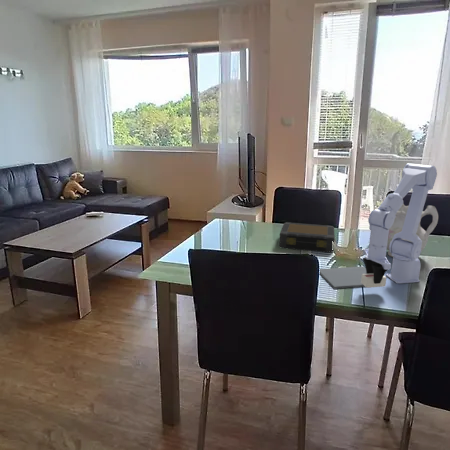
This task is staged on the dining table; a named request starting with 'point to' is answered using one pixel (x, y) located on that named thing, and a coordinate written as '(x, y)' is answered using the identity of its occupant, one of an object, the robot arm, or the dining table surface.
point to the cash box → (307, 237)
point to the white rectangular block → (372, 281)
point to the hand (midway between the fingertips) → (373, 280)
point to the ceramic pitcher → (420, 232)
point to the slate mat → (344, 276)
